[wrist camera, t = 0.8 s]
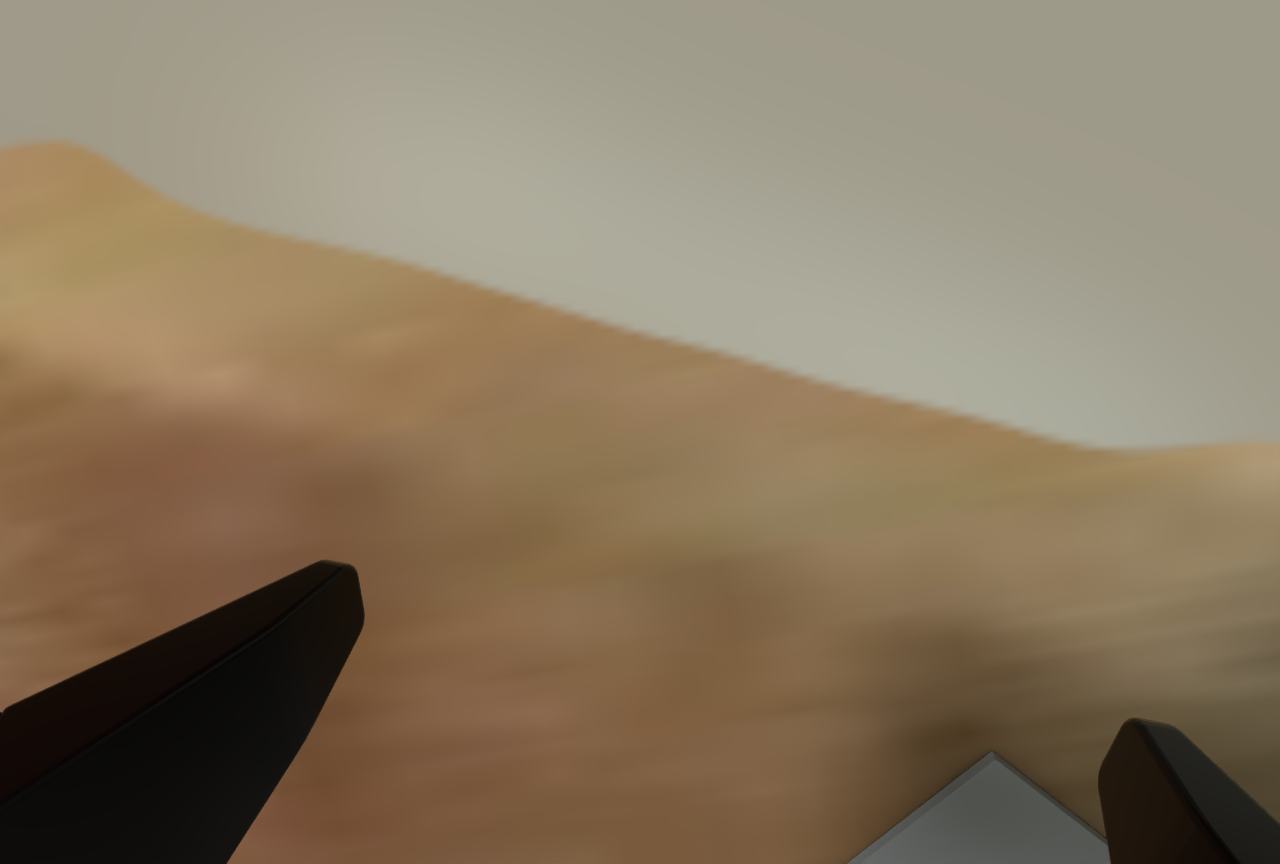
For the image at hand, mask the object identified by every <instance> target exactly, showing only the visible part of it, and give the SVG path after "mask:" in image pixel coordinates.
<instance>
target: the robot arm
mask: <svg viewBox="0 0 1280 864" xmlns="http://www.w3.org/2000/svg"><path fill="white" fill-rule="evenodd" d="M364 617H365V614H364V606H363V600H362V595H361V589H360V583H359V577H358V573H357V570H356V569H355V567H354V566H352V565H350V564H347V563H342V562H337V561H332V560H320V561H318V562H315V563H313V564H311V565H309V566H307V567H305V568H303V569H300V570H298V571H296V572H294V573H292V574H290V575H288V576H285V577H283V578H281V579H279V580H277V581H275V582H273V583H271V584H268V585H266V586H264V587H262V588H260V589H258V590H256V591H253V592H251V593H249V594H247V595H245V596H243V597H241V598H239V599H236V600H234V601H232V602H230V603H228V604H226V605H224V606H221V607H219V608H217V609H215V610H213V611H211V612H209V613H207V614H204V615H202V616H200V617H198V618H196V619H194V620H192V621H189V622H187V623H185V624H183V625H181V626H179V627H177V628H175V629H172V630H170V631H168V632H166V633H164V634H162V635H160V636H157V637H155V638H153V639H151V640H149V641H147V642H145V643H143V644H140V645H138V646H136V647H134V648H132V649H130V650H128V651H125V652H123V653H121V654H119V655H117V656H115V657H113V658H110V659H108V660H106V661H104V662H102V663H100V664H98V665H95V666H93V667H91V668H89V669H87V670H85V671H83V672H81V673H78V674H76V675H74V676H72V677H70V678H68V679H66V680H63V681H61V682H59V683H57V684H55V685H53V686H51V687H48V688H46V689H44V690H42V691H40V692H38V693H36V694H34V695H31V696H29V697H27V698H25V699H23V700H21V701H19V702H16V703H14V704H12V705H10V706H8V707H6V708H5V709H4V711H3V712H2V713H1V712H0V864H227V862H228V861H229V859H230V857H231V856H232V854H233V853H234V851H235V850H236V848H237V847H238V845H239V843H240V842H241V840H242V839H243V837H244V836H245V834H246V833H247V831H248V829H249V828H250V826H251V825H252V823H253V822H254V820H255V819H256V817H257V815H258V814H259V812H260V811H261V809H262V808H263V806H264V805H265V803H266V801H267V800H268V798H269V797H270V795H271V794H272V792H273V791H274V789H275V787H276V786H277V784H278V783H279V781H280V780H281V778H282V777H283V775H284V773H285V772H286V770H287V769H288V767H289V766H290V764H291V762H292V761H293V759H294V758H295V756H296V755H297V753H298V751H299V750H300V748H301V746H302V745H303V743H304V741H305V740H306V738H307V736H308V734H309V733H310V731H311V729H312V727H313V725H314V723H315V722H316V720H317V718H318V716H319V714H320V712H321V710H322V708H323V706H324V704H325V702H326V700H327V698H328V696H329V694H330V692H331V690H332V688H333V686H334V684H335V682H336V680H337V678H338V676H339V674H340V672H341V670H342V669H343V667H344V665H345V663H346V661H347V659H348V657H349V655H350V653H351V651H352V649H353V647H354V645H355V643H356V641H357V639H358V637H359V635H360V633H361V631H362V628H363V624H364ZM1098 788H1099V795H1100V801H1101V808H1102V814H1103V820H1104V826H1105V832H1106V838H1107V844H1108V850H1109V857H1110V863H1111V864H1280V823H1279V822H1277V821H1276V820H1275V819H1274V818H1273V817H1272V816H1271V815H1270V814H1269V813H1268V812H1267V811H1266V810H1265V809H1264V808H1262V807H1261V806H1260V805H1259V804H1258V803H1257V802H1256V801H1255V800H1254V799H1253V798H1252V797H1251V796H1250V795H1249V794H1247V793H1246V792H1245V791H1244V790H1243V789H1242V788H1241V787H1240V786H1239V785H1238V784H1237V783H1236V782H1235V781H1234V780H1232V779H1231V778H1230V777H1229V776H1228V775H1227V774H1226V773H1225V772H1224V771H1223V770H1222V769H1221V768H1220V767H1219V766H1217V765H1216V764H1215V763H1214V762H1213V761H1212V760H1211V759H1210V758H1209V757H1208V756H1207V755H1206V754H1205V753H1204V752H1202V751H1201V750H1200V749H1199V748H1198V747H1197V746H1196V745H1195V744H1194V743H1193V742H1192V741H1191V740H1190V739H1189V738H1188V737H1186V736H1185V735H1184V734H1183V733H1182V732H1181V731H1180V730H1178V729H1177V728H1176V727H1174V726H1172V725H1169V724H1166V723H1161V722H1156V721H1151V720H1146V719H1141V718H1130V719H1128V720H1127V721H1125V722H1124V723H1123V725H1122V726H1121V728H1120V730H1119V732H1118V734H1117V736H1116V738H1115V739H1114V741H1113V743H1112V745H1111V747H1110V749H1109V751H1108V753H1107V755H1106V756H1105V758H1104V760H1103V762H1102V764H1101V767H1100V770H1099V776H1098Z"/></svg>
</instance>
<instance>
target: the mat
mask: <svg viewBox="0 0 1280 864" xmlns="http://www.w3.org/2000/svg"><path fill="white" fill-rule="evenodd" d="M847 864H1111V863H1110V857H1109V850H1108V844H1107V839H1105V838H1104V837H1103V836H1102V835H1100V834H1099V833H1098V832H1096V831H1095V830H1094V829H1093V828H1091V827H1090V826H1089V825H1087V824H1086V823H1085V822H1084V821H1082V820H1081V819H1080V818H1078V817H1077V816H1076V815H1074V814H1073V813H1072V812H1071V811H1069V810H1068V809H1067V808H1065V807H1064V806H1063V805H1062V804H1060V803H1059V802H1058V801H1056V800H1055V799H1054V798H1052V797H1051V796H1050V795H1049V794H1047V793H1046V792H1045V791H1043V790H1042V789H1041V788H1040V787H1038V786H1037V785H1036V784H1034V783H1033V782H1032V781H1030V780H1029V779H1028V778H1027V777H1025V776H1024V775H1023V774H1021V773H1020V772H1019V771H1018V770H1016V769H1015V768H1014V767H1012V766H1011V765H1010V764H1008V763H1007V762H1006V761H1005V760H1003V759H1002V758H1001V757H999V756H998V755H997V754H996V753H994V752H993V751H991V752H990V753H989V754H987V755H986V756H985V757H983V758H982V759H981V760H980V761H978V762H977V763H976V764H974V765H973V766H972V767H971V768H969V769H968V770H967V771H965V772H964V773H963V774H961V775H960V776H959V777H958V778H956V779H955V780H954V781H952V782H951V783H950V784H949V785H947V786H946V787H945V788H943V789H942V790H941V791H940V792H938V793H937V794H936V795H934V796H933V797H932V798H931V799H929V800H928V801H927V802H925V803H924V804H923V805H922V806H920V807H919V808H918V809H916V810H915V811H914V812H913V813H911V814H910V815H909V816H907V817H906V818H905V819H904V820H902V821H901V822H900V823H898V824H897V825H896V826H895V827H893V828H892V829H891V830H889V831H888V832H887V833H886V834H884V835H883V836H882V837H880V838H879V839H878V840H877V841H875V842H874V843H873V844H871V845H870V846H869V847H868V848H866V849H865V850H864V851H862V852H861V853H860V854H859V855H857V856H856V857H855V858H853V859H852V860H851V861H850V862H848V863H847Z"/></svg>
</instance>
